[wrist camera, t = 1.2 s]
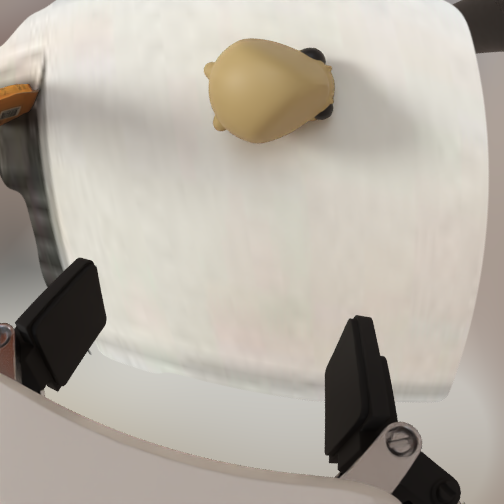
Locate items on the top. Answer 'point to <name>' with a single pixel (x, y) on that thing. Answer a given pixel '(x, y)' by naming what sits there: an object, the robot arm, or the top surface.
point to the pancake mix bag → (16, 101)
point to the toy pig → (268, 89)
